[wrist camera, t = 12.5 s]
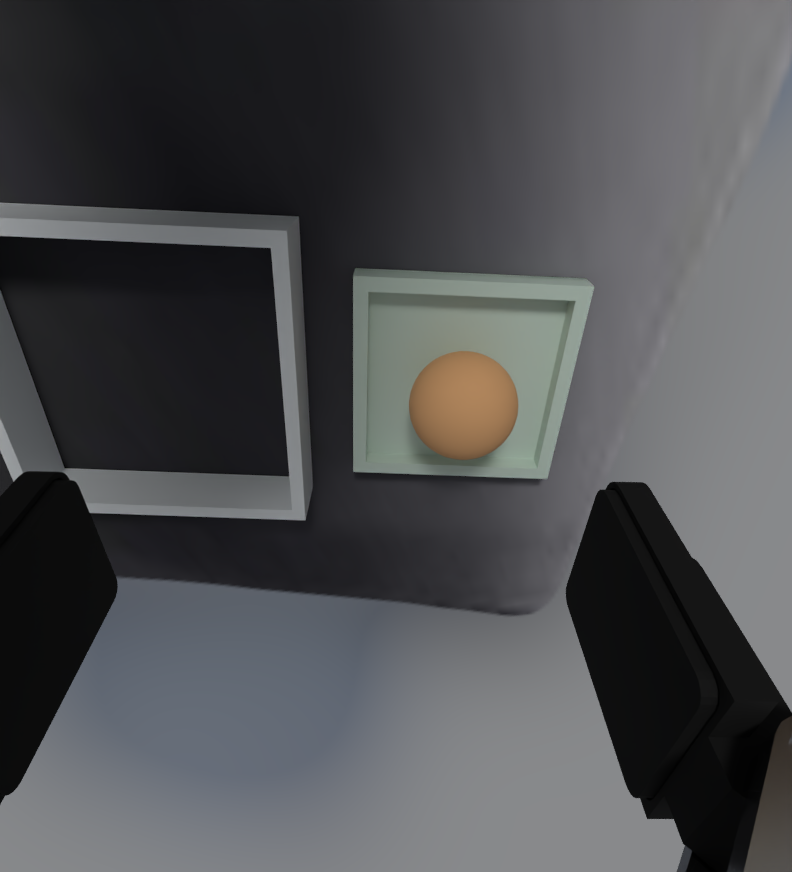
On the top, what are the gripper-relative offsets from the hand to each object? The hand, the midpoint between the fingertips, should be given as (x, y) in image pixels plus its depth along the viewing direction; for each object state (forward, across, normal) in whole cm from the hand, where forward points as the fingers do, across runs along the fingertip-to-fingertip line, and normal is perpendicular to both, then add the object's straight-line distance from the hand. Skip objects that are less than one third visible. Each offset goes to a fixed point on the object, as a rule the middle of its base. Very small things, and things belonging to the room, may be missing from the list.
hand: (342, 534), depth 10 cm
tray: (+21, -5, +8) cm, 24 cm away
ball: (+18, -5, +8) cm, 20 cm away
